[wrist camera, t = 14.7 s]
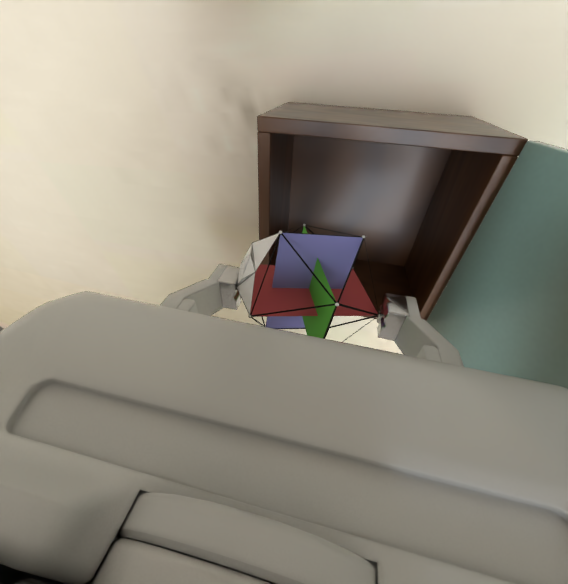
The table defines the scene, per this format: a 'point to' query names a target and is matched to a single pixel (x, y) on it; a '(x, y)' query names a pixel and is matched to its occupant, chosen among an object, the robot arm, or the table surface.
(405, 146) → the case
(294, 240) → the geometric puzzle
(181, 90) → the table surface
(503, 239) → the pale blue slab
